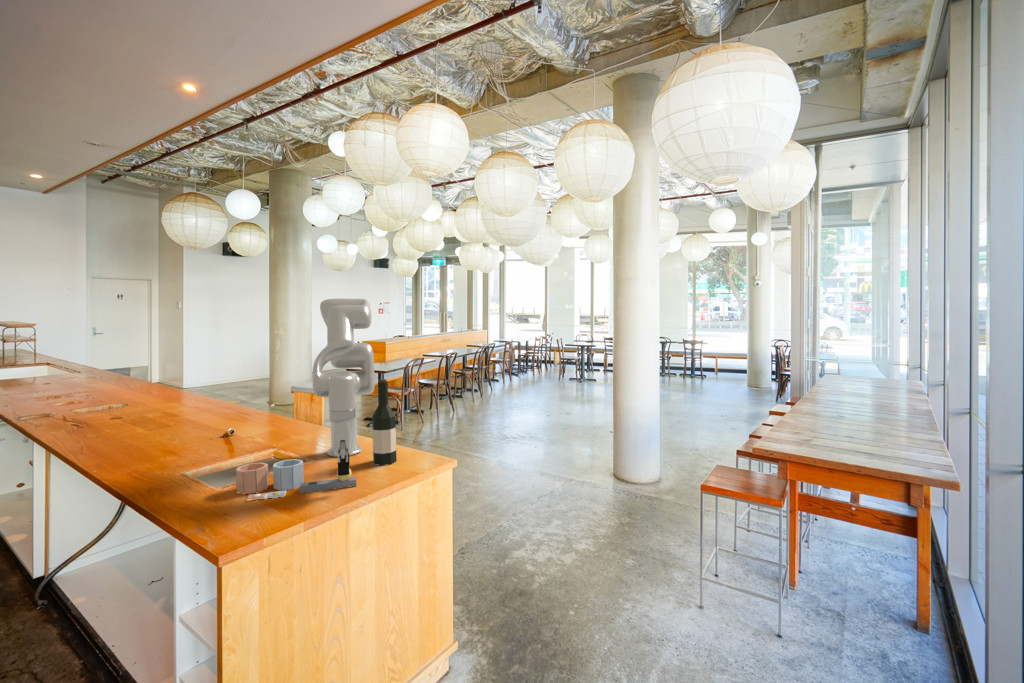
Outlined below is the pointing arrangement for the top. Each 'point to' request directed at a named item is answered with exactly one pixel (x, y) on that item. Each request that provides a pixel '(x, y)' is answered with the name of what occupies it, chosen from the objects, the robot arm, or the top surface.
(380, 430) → the wine bottle
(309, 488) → the holder
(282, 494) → the card
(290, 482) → the tube bluegrey
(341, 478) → the ball ochre
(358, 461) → the top surface
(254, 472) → the tube terracotta
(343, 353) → the robot arm
